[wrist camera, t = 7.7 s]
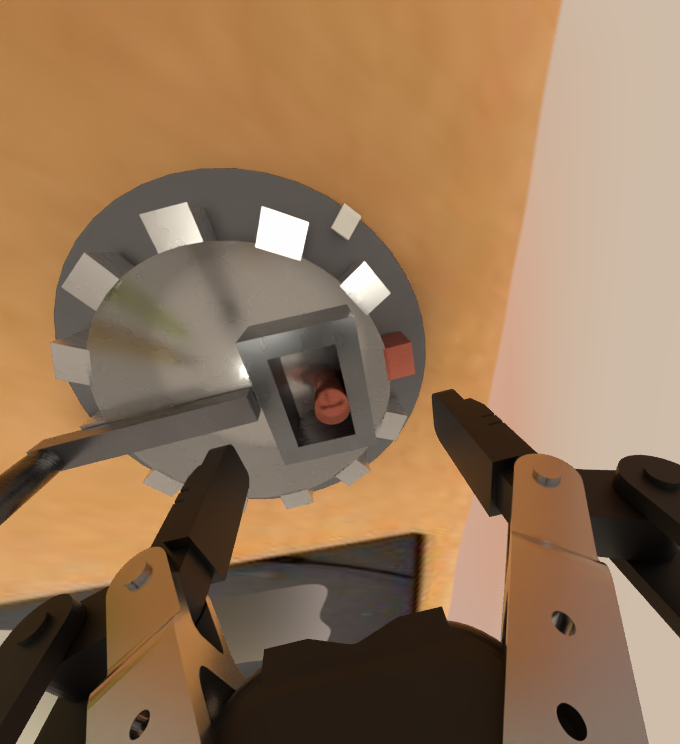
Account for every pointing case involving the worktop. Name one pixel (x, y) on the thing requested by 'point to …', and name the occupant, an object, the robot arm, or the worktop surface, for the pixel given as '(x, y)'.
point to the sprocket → (209, 358)
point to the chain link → (274, 393)
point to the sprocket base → (240, 223)
